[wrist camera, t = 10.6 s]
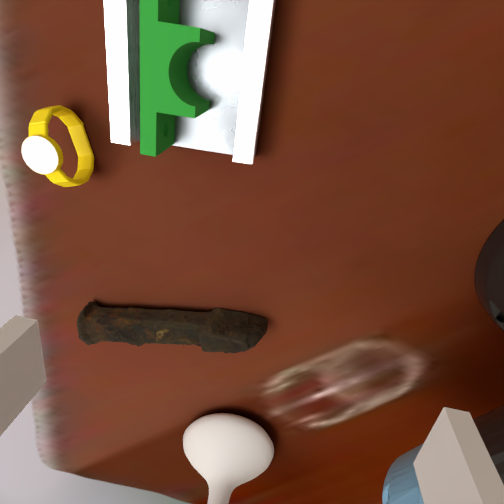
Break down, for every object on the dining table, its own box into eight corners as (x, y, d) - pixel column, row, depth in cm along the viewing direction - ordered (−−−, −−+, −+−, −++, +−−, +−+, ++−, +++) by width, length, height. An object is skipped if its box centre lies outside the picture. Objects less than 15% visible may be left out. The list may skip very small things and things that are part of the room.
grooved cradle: (277, -4, 25) (274, -11, 23) (255, 155, 31) (252, 164, 28) (120, -26, 26) (101, -35, 23) (126, 135, 31) (111, 142, 28)
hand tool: (98, 325, 41) (76, 355, 37) (90, 296, 40) (67, 323, 35) (266, 337, 40) (263, 370, 36) (267, 307, 38) (264, 338, 34)
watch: (56, 107, 31) (4, 111, 25) (86, 102, 30) (40, 105, 25) (79, 179, 33) (36, 196, 28) (108, 175, 33) (69, 192, 27)
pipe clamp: (206, 148, 30) (192, 163, 26) (161, 141, 30) (139, 154, 26) (219, -20, 25) (203, -35, 21) (164, -29, 25) (137, -45, 21)
